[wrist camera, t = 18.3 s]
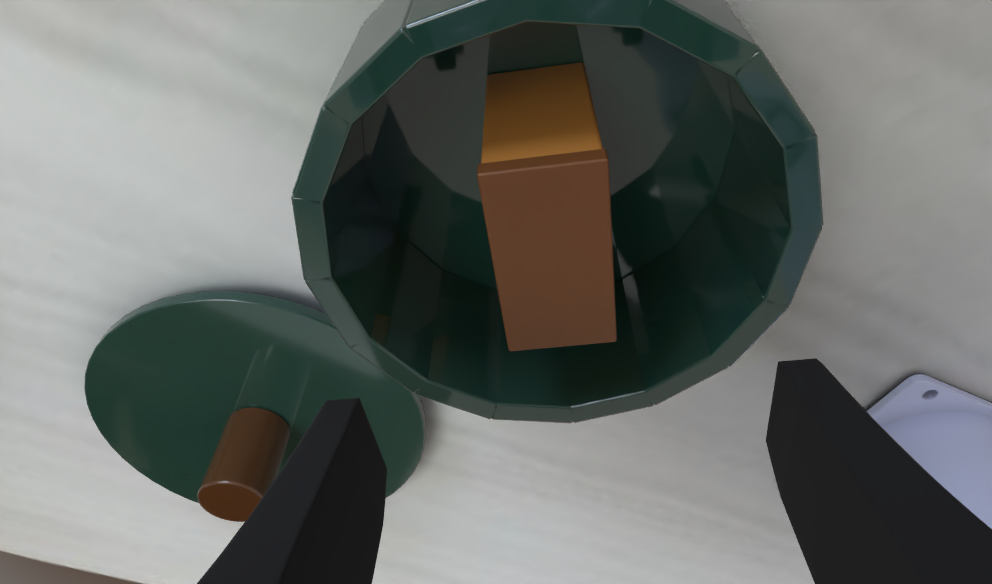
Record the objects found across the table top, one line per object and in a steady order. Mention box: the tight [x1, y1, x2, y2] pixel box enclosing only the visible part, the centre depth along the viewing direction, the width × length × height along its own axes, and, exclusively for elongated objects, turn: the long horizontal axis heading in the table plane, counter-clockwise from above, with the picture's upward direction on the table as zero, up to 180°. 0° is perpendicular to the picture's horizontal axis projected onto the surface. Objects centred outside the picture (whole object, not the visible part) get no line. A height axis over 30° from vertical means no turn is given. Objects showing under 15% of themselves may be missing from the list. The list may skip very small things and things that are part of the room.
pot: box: [292, 0, 823, 423], centre depth 18 cm, size 12×12×6 cm
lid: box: [85, 291, 426, 522], centre depth 26 cm, size 13×13×4 cm
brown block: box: [477, 62, 617, 351], centre depth 18 cm, size 5×3×6 cm, turn 8°
